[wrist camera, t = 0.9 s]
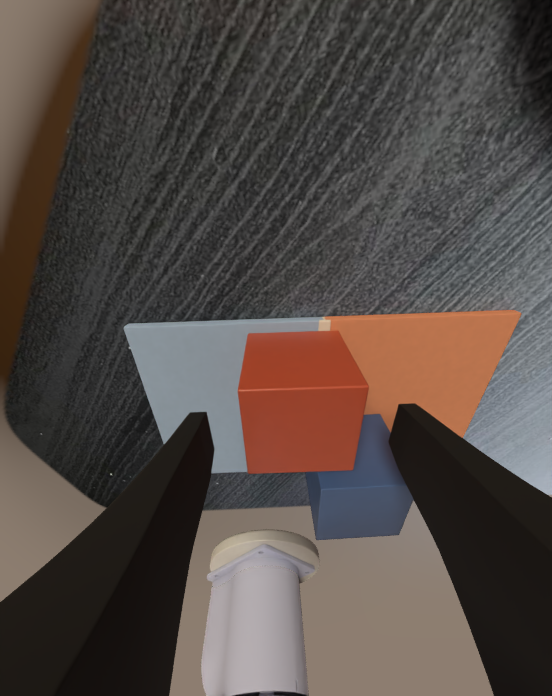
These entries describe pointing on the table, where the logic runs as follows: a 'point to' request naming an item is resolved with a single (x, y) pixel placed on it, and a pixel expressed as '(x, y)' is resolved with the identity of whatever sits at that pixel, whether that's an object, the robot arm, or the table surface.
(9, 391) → the table surface
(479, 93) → the table surface
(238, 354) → the mat
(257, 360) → the terracotta block
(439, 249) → the table surface
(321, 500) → the slate blue block
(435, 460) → the robot arm
